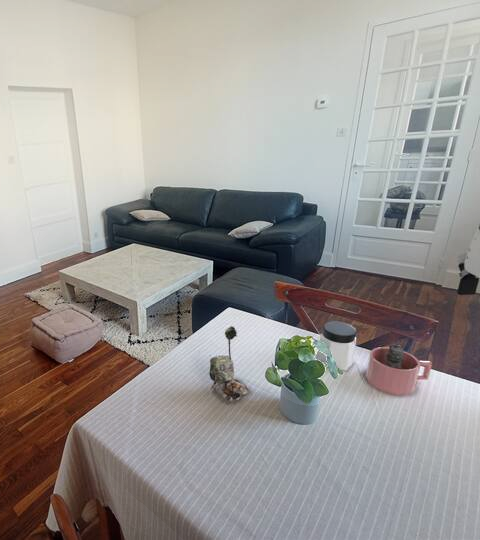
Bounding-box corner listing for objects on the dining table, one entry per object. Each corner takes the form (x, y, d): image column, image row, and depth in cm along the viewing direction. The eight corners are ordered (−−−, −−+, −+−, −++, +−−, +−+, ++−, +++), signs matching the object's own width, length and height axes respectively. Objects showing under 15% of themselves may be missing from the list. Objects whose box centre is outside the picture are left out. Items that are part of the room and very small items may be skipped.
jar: (349, 357, 103) (355, 323, 99) (354, 373, 96) (360, 337, 92) (316, 352, 107) (320, 319, 103) (318, 368, 100) (322, 333, 96)
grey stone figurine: (378, 370, 95) (385, 333, 91) (405, 378, 91) (414, 340, 87) (374, 381, 91) (381, 343, 87) (401, 390, 87) (410, 351, 83)
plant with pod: (203, 386, 98) (201, 327, 91) (240, 380, 99) (241, 320, 92) (213, 406, 90) (212, 343, 83) (253, 399, 91) (256, 335, 84)
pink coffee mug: (378, 396, 88) (383, 370, 85) (358, 370, 97) (362, 347, 94) (440, 397, 85) (447, 371, 82) (413, 371, 95) (419, 347, 92)
